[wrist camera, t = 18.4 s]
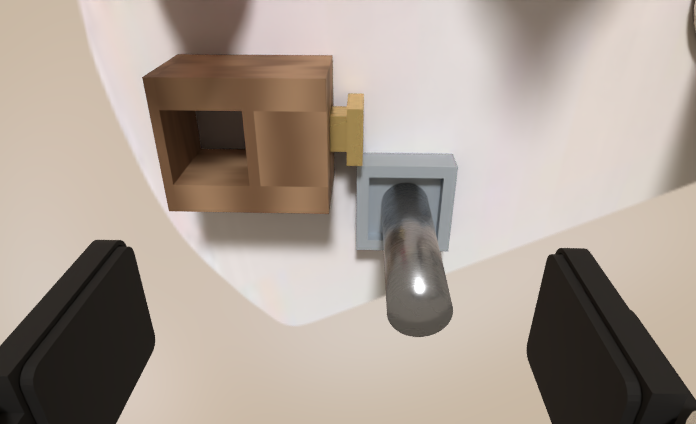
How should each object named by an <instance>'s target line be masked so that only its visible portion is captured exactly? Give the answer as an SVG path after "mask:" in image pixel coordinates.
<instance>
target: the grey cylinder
mask: <svg viewBox="0 0 696 424" xmlns="http://www.w3.org/2000/svg"><path fill="white" fill-rule="evenodd" d="M381 208H382V227H383V246H384V264H385V283H386V301H387V316H388V320H389V322H390V324H391V325H392V326H393V327H394V328H395V329H396V330H397V331H399V332H400V333H402V334H405V335H408V336H413V337H424V336H429V335H432V334H435V333H437V332H439V331H441V330H442V329H443V328H445V327H446V326H447V325H448V323H449V322H450V320H451V318H452V314H453V307H452V302H451V298H450V294H449V289H448V285H447V280H446V276H445V271H444V267H443V263H442V258H441V254H440V250H439V245H438V241H437V236H436V232H435V228H434V223H433V219H432V214H431V210H430V206H429V201H428V197H427V195H426V193H425V191H424V190H423V189H422V188H421V187H419V186H418V185H415V184H413V183H399V184H396V185H393V186H392V187H390V188H389V189H388V190H387V191H386V192H385V193H384V195H383V197H382V201H381Z"/></svg>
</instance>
